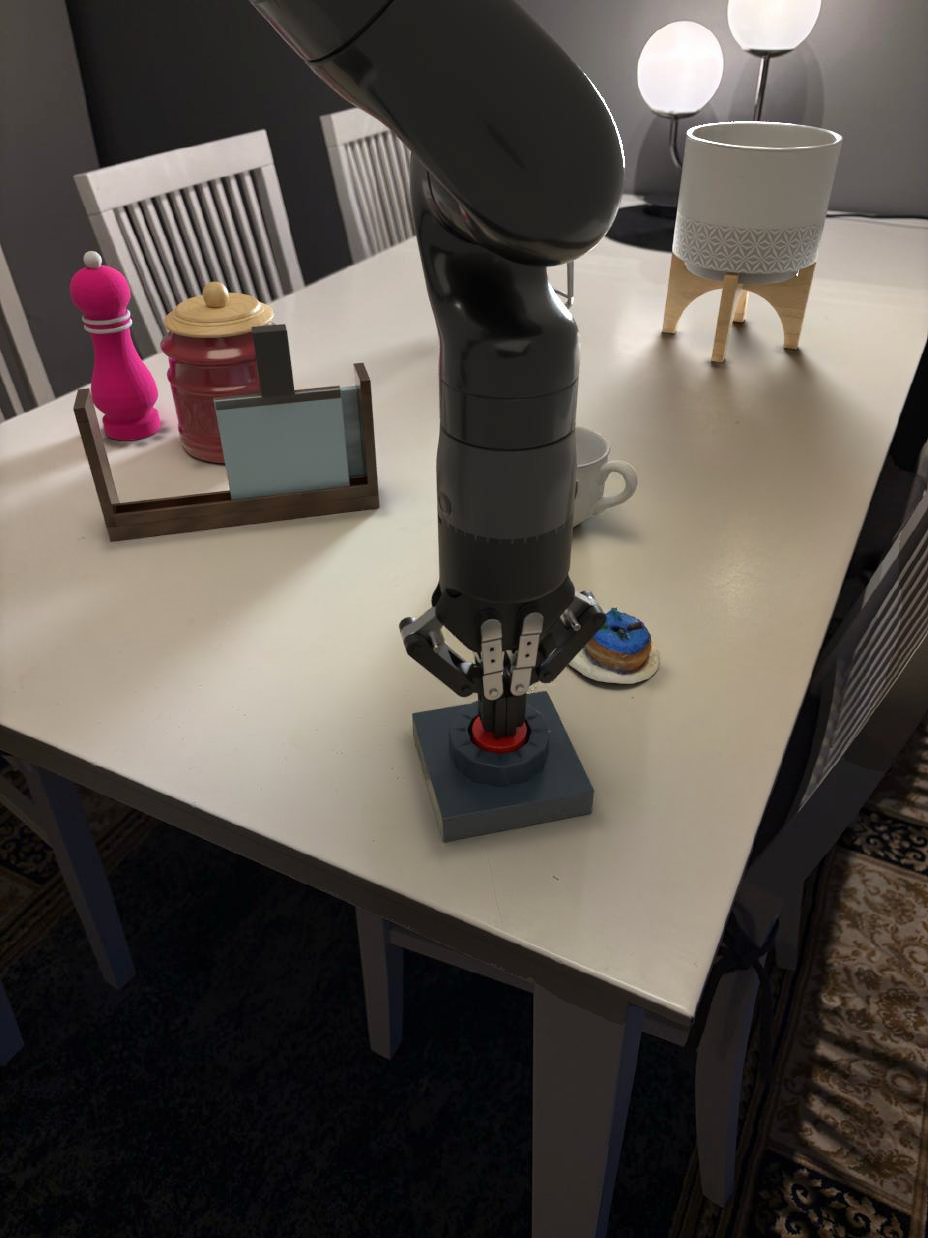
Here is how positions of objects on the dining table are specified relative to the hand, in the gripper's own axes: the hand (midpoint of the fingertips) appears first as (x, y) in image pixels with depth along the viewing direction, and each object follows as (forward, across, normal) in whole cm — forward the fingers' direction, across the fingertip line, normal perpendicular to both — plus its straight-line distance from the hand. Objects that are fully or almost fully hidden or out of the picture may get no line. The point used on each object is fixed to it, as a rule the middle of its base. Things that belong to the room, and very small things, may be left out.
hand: (500, 728), depth 60 cm
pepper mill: (+4, +27, -63) cm, 69 cm away
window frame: (+4, +15, -40) cm, 43 cm away
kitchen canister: (+4, +15, -57) cm, 59 cm away
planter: (+4, -54, -73) cm, 91 cm away
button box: (+4, 0, 0) cm, 4 cm away
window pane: (+2, +11, -39) cm, 41 cm away
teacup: (+4, -15, -31) cm, 35 cm away
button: (+2, 0, 0) cm, 2 cm away
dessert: (+4, -12, -10) cm, 16 cm away
